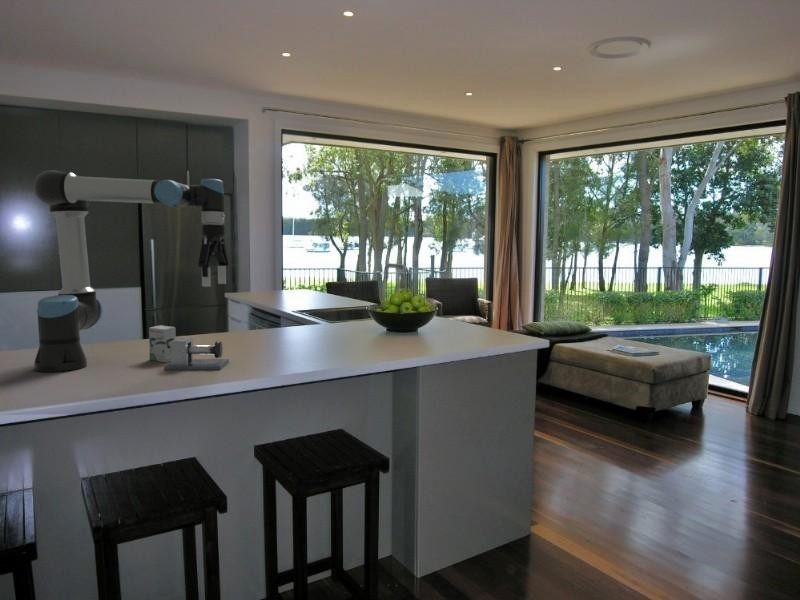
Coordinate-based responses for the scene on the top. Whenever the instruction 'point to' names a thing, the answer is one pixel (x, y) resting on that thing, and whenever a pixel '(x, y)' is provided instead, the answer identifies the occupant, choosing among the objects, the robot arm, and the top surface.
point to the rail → (200, 365)
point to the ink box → (161, 342)
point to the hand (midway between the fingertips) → (214, 285)
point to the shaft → (206, 349)
